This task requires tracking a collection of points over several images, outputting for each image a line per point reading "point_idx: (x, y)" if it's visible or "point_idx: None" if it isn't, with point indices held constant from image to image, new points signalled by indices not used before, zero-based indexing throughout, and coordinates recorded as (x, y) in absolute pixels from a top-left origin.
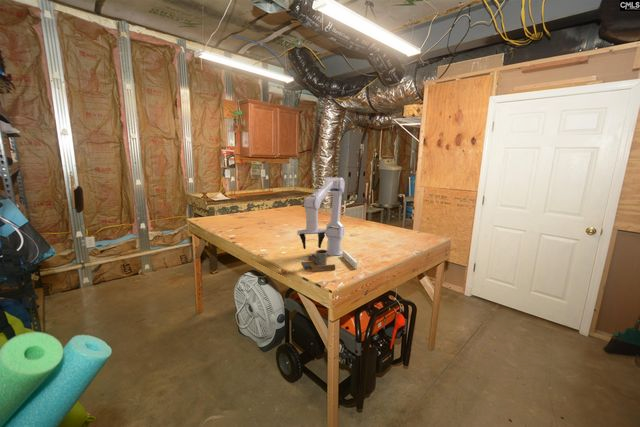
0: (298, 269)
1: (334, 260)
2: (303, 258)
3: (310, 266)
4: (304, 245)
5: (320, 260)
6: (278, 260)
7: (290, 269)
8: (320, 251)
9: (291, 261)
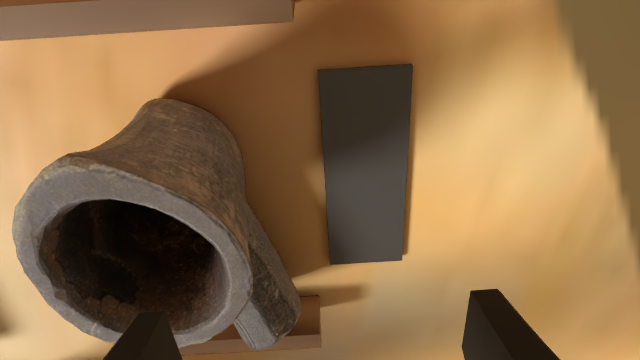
0: (490, 86)
1: None
2: (360, 340)
3: (332, 138)
4: (537, 354)
5: (192, 144)
6: (596, 325)
7: (580, 100)
8: (167, 313)
9: None
